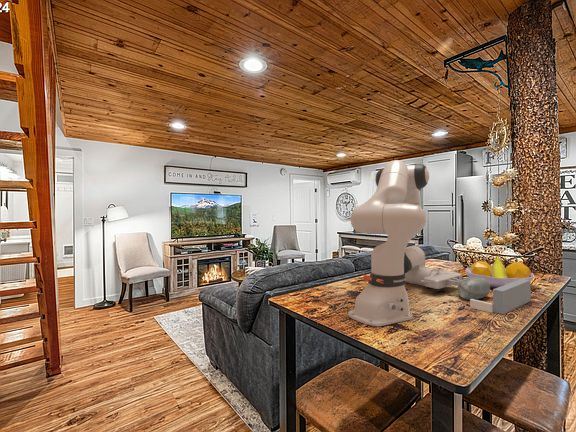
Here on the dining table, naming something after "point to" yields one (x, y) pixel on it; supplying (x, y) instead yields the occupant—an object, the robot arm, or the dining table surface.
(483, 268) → the fruit bowl
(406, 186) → the robot arm
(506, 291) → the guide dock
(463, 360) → the dining table surface
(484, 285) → the grey stone
